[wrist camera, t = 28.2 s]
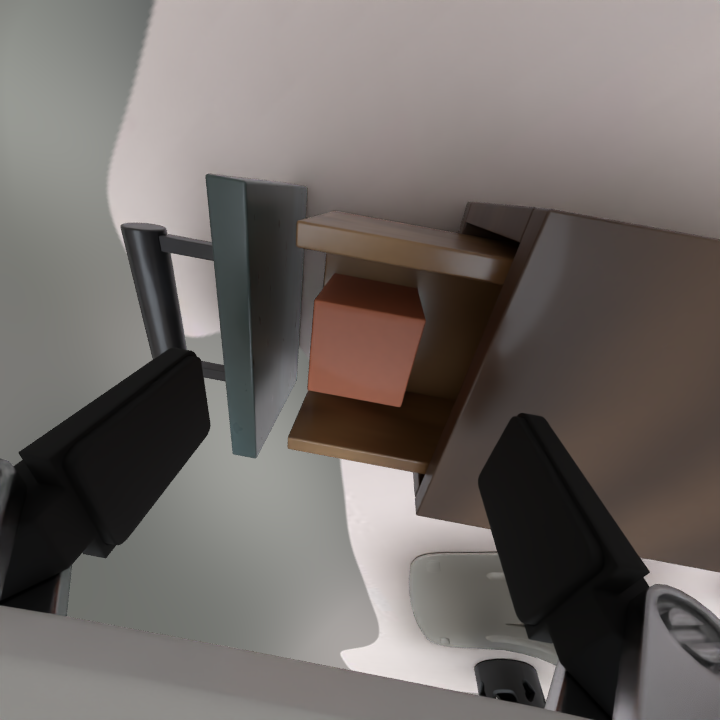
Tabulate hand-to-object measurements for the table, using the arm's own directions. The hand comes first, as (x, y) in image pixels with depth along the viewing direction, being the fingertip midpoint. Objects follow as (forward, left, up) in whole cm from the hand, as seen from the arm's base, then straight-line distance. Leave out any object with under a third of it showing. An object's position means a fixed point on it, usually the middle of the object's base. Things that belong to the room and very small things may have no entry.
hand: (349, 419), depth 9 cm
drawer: (0, -1, -9) cm, 9 cm away
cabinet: (0, +11, -10) cm, 15 cm away
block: (0, 0, -8) cm, 8 cm away
